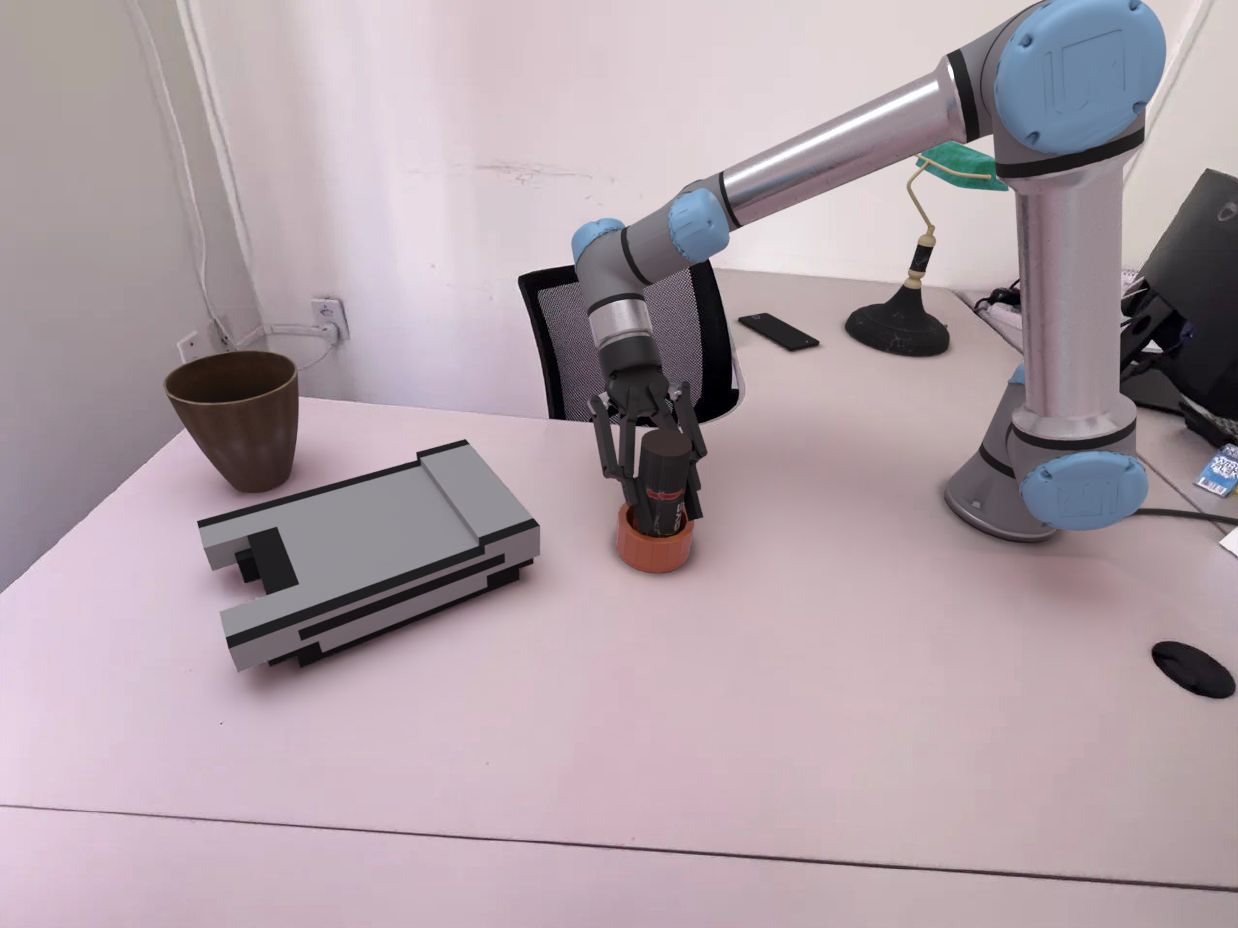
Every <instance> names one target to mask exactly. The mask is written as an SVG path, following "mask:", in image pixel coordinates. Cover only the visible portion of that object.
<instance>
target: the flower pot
mask: <svg viewBox="0 0 1238 928" xmlns="http://www.w3.org/2000/svg"><path fill="white" fill-rule="evenodd" d="M162 389H163V391H164V393H165V394H166V397H167V399H168V400H169V402H170V404H171V406H172V408H173V409H174V411H175V413H176V415H177V416H178V418H179V419H180V421H181V423H182V425H183V426H184V427H185V429H186V431H187V432H188V433H189V435H190V437H191V438H192V440H193V441H194V442H195V444H196V446H198V448H199V449H200V451H201V453H203V455H204V456H205V457H206V458H207V459H208V461H209V462H210V464H211V465H212V466H213V467H214V468H215V470H216V471H218V473H219V474H220V475H221V476H222V477H223V478H224V479H225V480H226V481H227V483H228V484H229V485H230V486H232V488H234V489H235V490H237V491H239V492H242V493H249V494H251V493H252V494H255V493H263V492H268V491H271V490H274V489H276V488H278V487H280V486H282V485H283V484H285V483H286V482H287V481H288V480H289V478H290V476H291V473H292V469H293V464H294V461H295V460H294V459H295V453H296V448H297V440H298V432H299V431H298V430H299V416H300V396H299V395H300V392H299V391H300V390H299V374H298V366H297V363H296V362H295V361H294V360H293V359H291V358H290V357H288V356H286V355H284V354H282V353H278V352H273V351H268V350H257V349H255V350H254V349H247V350H246V349H244V350H230V351H223V352H218V353H213V354H208V355H205V356H201V357H198V358H195V359H192V360H190V361H187V362H185V363H183V364H181V365H179V366H177V367H175V368H174V369H173V370H172V371H171V372H169V374H167V375H166V377H165V378H164V380H163V383H162Z"/></svg>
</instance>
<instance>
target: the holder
mask: <svg viewBox="0 0 1238 928" xmlns="http://www.w3.org/2000/svg"><path fill="white" fill-rule="evenodd" d="M619 508H620V509H619V510H618V512H617V519H616V531H615V549H616V552H617V554H618V556H619V558H621V560H622V561H623V562H624V563H625V564H627V565H628V566H630V567H632V568H634V569H636V570H637V571H641V572H645V573H650V574H651V573H652V574H653V573H654V574H662V573H668V572H672V571H674V570H677V569H679V568H680V567H682V566H683V565H684V564H685V563H686V561H687V560H688V559H689V555H690V551H691V548H692V542H693V538H694V537H693V536H694V532H695V525H696V520H692V521H688V517H687V514H686V510H685V506H684V503H683V508H682V515H681V521H680V528H679V534H677V535H674V536H671V537H667V538H654V537H650V536H646V535H642V534H640V533H639V532H637V531H635V530H634V529H632V528H633V518H634V506H630V507H628V505H627V504H626V502H623V503H622V504H621V507H619Z"/></svg>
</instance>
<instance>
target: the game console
mask: <svg viewBox="0 0 1238 928" xmlns="http://www.w3.org/2000/svg"><path fill="white" fill-rule="evenodd" d="M415 454H416V460H413V461H408V462H405V463H402V464H398V465H394V466H391V467H386V468H384V469H383V468H382V469H379V470H376V471H373V472H369V473H365V474H362V475H357V476H354V477H350V478H346V479H344V480H340V481H336V482H333V483H328V484H326V485H322V486H319V487H315V488H311V489H308V490H304V491H300V492H297V493H293V494H289V495H286V496H282V497H279V498H275V499H271V500H267V501H264V502H261V503H257V504H253V505H250V506H246V507H242V508H238V509H236V510H232V511H228V512H224V513H220V514H218V515H217V514H216V515H214V516H213V515H212V516H209V517H206V518H203V519H199V520H196V523H197V527H198V531H199V535H200V540H201V545H202V548H203V551H204V553H205V555H206V559H207V561H208V564H209V566H210V568H211V571H212V572H214V571H218V570H221V569H223V568H227V567H230V566H233V565H236V564H237V566H238V569H239V572H240V574H241V577H242V580H243V583H244V585H246V584H249V583H252V582H255V581H258V580H261V583H262V586H263V589H264V592H265V595H264V596H261V597H257V598H256V599H251V600H249V601H247V602H244V603H240V604H238V605H235V606H232V607H228V608H226V609H223V610H220V611H219V613H218V614H219V616H220V621H221V625H222V629H223V633H224V638H225V641H226V645H227V649H228V652H229V654H230V656H231V659H232V662H233V664H234V666H235V668H236V671H237V673H240V672H244V671H245V670H248V669H251V668H253V667H256V666H258V665H262V664H263V663H266V662H267V664H268V666H269V668H272V667H274V666H276V665H279V664H282V663H284V662H286V661H289V660H292V659H294V658H296V659H297V662H298V666H299V668H300V669H302V668H304V667H306V666H309V665H311V664H314V663H316V662H320V661H322V660H324V659H327V658H329V657H331V656H334V655H337V654H339V653H342V652H344V651H346V650H349V649H352V648H354V647H357V646H359V645H363V644H364V643H366V642H368V641H372V640H373V639H376V638H378V637H381V636H384V635H386V634H389V633H391V632H394V631H396V630H399V629H402V628H403V627H406V626H409V625H412V624H413V623H416V622H419V621H421V620H423V619H426V618H429V617H431V616H433V615H436V614H438V613H441V612H444V611H446V610H448V609H451V608H453V607H456V606H458V605H460V604H463V603H465V602H468V601H471V600H474V599H475V598H479V597H481V596H483V595H485V594H488V593H490V592H493V591H495V590H498V589H501V588H503V587H506V586H508V585H510V584H513V583H515V582H518V581H520V580H521V577H520V573H521V572H520V570H521V569H524V568H525V567H528V566H530V565H533V564H534V562H535V561H534V560H535V559H534V558H536V557H539V556H541V524H539V522H537V520H536V519H535V518H534V516H533V515H532V514H531V513H530V512H529V511H528V509H526V508H525V506H524V505H523V504H522V502H521V501H520V500H519V499H518V498H517V497H516V495H514V493H513V492H512V491H511V490H510V489H509V488H508V486H507V485H506V484H505V482H503V481H502V479H501V478H500V477H499V476H498V475H497V474H496V472H495V471H494V470H493V469H492V468H491V466H490V465H489V464H488V463H487V462H486V461H485V459H484V458H483V457H482V456H481V455H480V454H479V452H478V451H476V449H475V448H474V447H473V445H472V444H471V443H470V442H469V441H468V440H467V439H466V438H464V439H460V440H456V441H453V442H449V443H445V444H441V445H437V446H434V447H431V448H430V447H429V448H427V449H423V450H419V451H416V452H415Z"/></svg>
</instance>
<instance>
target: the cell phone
mask: <svg viewBox="0 0 1238 928" xmlns="http://www.w3.org/2000/svg"><path fill="white" fill-rule="evenodd" d="M737 322H738V323H740V324H742V325H744V326H746V327H748V328H749V329H751V330H752V331H755V332H756V333H757V334H759V335H761V336H763V337H765V338H766V339H768V340H770V341H772V342H773V343H775V344H777V345H778V346H780V347H782V348H784V349H786V350H787V351H788V352H796V351H800V350H805V349H809V348H814V347H818V346H819V345H820V340H819V339H817V338H815V337H813V336H811V335H809V334H807V333H806V332H803V331H802V330H800V329H798V328H797V327H794V326H793V325H791V324H789V323H787V322H785V321H783V320H781V319H780V318H778V317H776V316H774V315H773V314H770V313H768V312H761V313H756V314H750V315H745V316H739V317H738V318H737Z"/></svg>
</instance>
